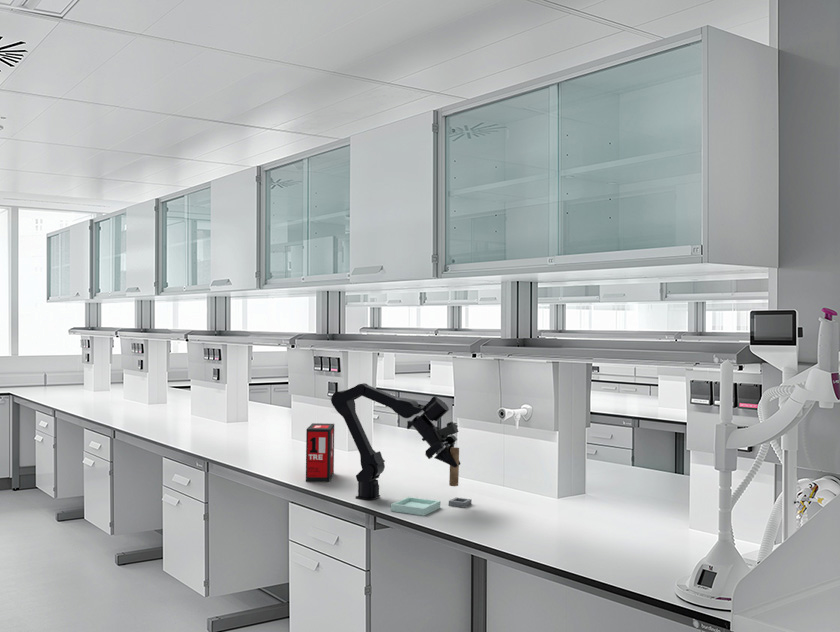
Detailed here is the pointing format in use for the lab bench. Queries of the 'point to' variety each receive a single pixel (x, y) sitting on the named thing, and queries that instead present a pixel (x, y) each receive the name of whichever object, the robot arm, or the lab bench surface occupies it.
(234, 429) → the lab bench surface
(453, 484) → the pin
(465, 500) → the tray
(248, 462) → the lab bench surface
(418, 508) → the tray
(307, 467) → the cleaning product box
